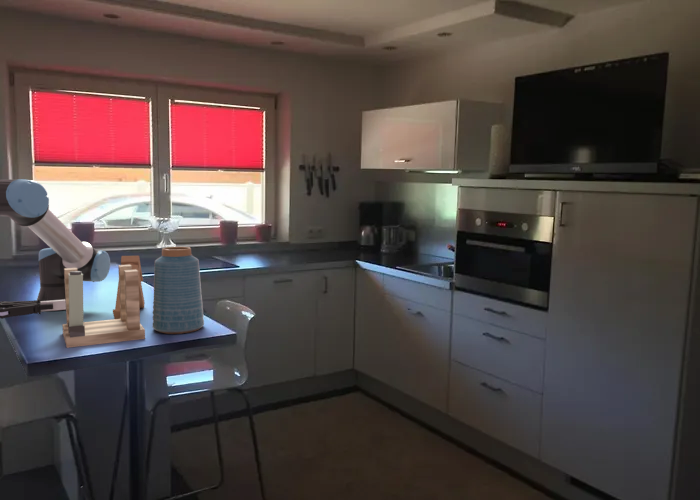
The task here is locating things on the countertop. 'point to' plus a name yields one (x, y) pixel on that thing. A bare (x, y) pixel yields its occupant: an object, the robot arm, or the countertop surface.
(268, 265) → the countertop surface
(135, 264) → the tan wooden piece
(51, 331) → the countertop surface
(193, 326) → the vase
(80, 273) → the stool leg
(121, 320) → the wooden rack
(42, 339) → the countertop surface
